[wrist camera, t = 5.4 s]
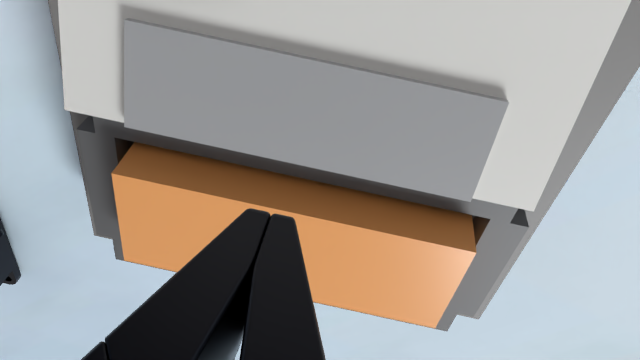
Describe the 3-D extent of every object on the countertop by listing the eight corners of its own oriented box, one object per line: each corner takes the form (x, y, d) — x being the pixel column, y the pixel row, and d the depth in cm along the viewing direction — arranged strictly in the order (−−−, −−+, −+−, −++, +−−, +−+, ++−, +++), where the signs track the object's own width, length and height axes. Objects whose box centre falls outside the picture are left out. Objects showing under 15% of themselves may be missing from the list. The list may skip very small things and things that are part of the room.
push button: (147, 220, 19) (124, 260, 18) (139, 135, 16) (111, 173, 15) (433, 282, 19) (435, 328, 17) (470, 206, 16) (476, 252, 15)
